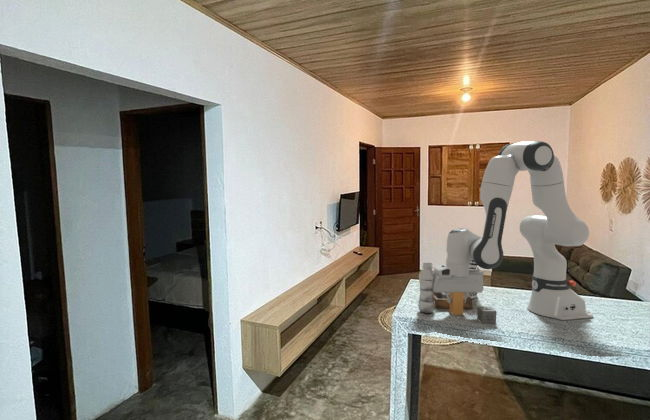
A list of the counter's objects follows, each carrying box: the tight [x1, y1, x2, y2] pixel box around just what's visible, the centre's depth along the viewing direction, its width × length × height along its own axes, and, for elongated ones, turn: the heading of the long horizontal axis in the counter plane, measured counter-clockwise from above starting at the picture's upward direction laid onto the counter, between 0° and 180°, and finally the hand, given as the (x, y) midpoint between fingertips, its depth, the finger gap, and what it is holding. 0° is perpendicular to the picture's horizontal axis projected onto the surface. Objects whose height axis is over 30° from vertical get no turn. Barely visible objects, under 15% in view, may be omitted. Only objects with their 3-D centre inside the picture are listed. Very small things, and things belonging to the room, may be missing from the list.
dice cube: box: [476, 305, 497, 325], centre depth 134 cm, size 5×5×5 cm
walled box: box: [434, 292, 473, 310], centre depth 153 cm, size 15×13×5 cm
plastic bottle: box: [417, 261, 436, 314], centre depth 143 cm, size 6×7×20 cm
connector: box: [449, 292, 464, 316], centre depth 142 cm, size 4×4×10 cm
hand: (456, 302), depth 142 cm, fingers closed on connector, 4 cm apart
